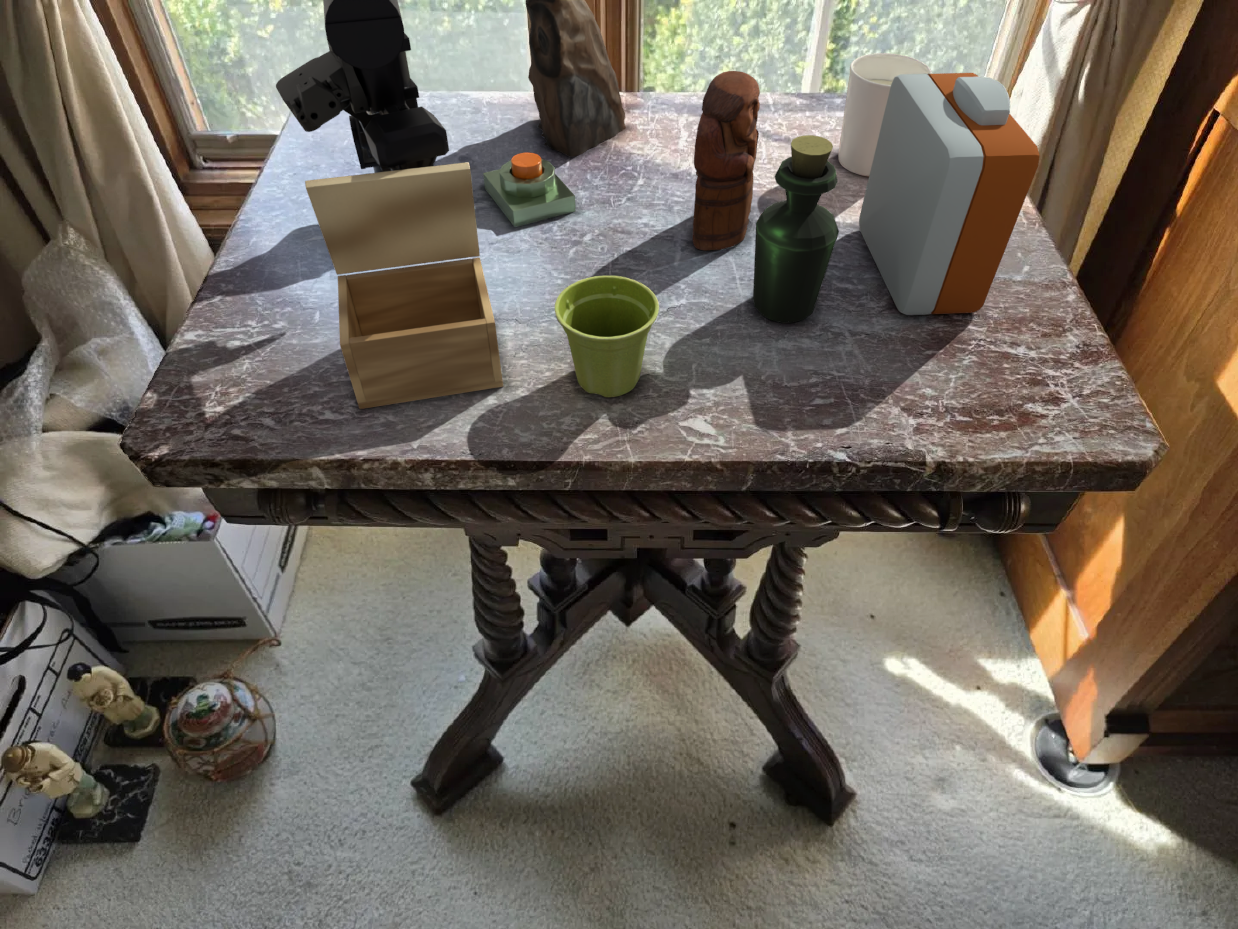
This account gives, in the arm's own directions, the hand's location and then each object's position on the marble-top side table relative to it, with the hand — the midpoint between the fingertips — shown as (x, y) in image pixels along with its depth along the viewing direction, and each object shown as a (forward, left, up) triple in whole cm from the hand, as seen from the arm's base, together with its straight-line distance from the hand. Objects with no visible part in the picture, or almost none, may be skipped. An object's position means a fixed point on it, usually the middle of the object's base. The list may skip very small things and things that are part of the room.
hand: (400, 189), depth 84 cm
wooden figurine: (+4, +36, -12) cm, 38 cm away
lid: (+9, -2, +2) cm, 9 cm away
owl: (-25, +31, -12) cm, 42 cm away
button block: (-12, +18, -12) cm, 25 cm away
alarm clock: (+21, +51, -12) cm, 56 cm away
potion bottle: (+20, +34, -12) cm, 41 cm away
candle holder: (-1, +62, -12) cm, 63 cm away
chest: (+12, -3, -12) cm, 17 cm away
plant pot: (+22, +12, -12) cm, 28 cm away
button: (-12, +18, -8) cm, 23 cm away
